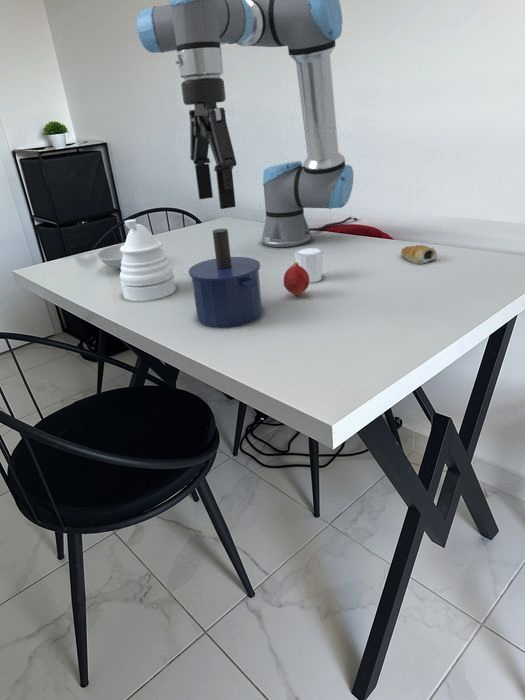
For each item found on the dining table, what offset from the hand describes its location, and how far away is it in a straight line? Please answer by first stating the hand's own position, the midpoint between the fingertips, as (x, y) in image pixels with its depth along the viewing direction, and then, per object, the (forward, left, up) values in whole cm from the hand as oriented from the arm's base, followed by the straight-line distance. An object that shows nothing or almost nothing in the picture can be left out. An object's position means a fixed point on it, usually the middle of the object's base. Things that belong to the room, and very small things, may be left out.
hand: (216, 202), depth 99 cm
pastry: (-55, -8, -24) cm, 60 cm away
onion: (-17, -2, -24) cm, 29 cm away
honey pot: (+12, -26, -24) cm, 37 cm away
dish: (+14, -52, -24) cm, 59 cm away
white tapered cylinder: (-25, -11, -24) cm, 36 cm away
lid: (0, 0, -13) cm, 13 cm away
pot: (0, 0, -23) cm, 23 cm away
